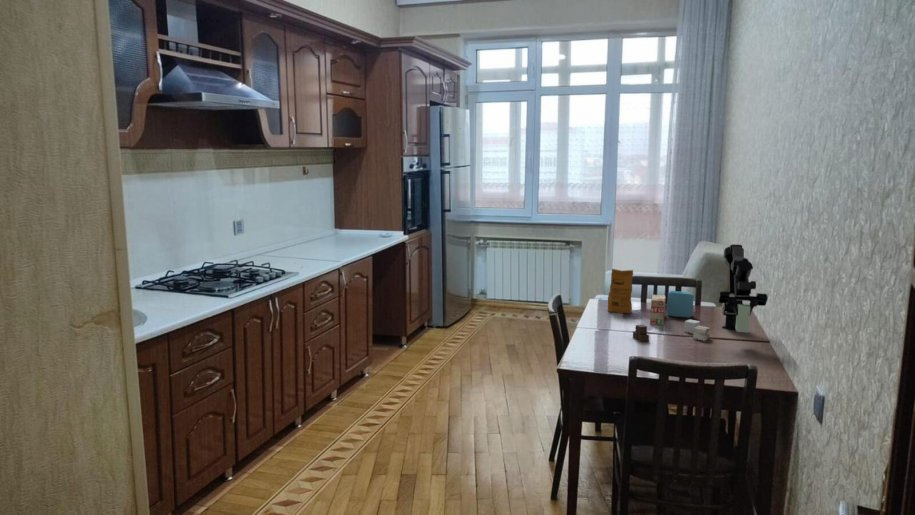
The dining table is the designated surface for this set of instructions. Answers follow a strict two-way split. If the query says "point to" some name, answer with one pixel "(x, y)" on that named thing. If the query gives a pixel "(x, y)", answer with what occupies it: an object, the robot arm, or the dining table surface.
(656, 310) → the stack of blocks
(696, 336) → the oatmeal cube
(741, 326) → the sage green block
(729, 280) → the robot arm
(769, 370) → the dining table surface
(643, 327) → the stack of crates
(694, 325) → the light grey cube
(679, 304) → the light blue box
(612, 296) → the coffee package
